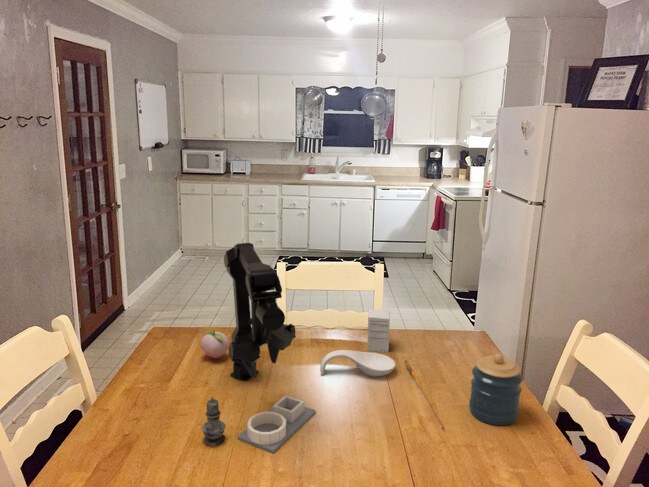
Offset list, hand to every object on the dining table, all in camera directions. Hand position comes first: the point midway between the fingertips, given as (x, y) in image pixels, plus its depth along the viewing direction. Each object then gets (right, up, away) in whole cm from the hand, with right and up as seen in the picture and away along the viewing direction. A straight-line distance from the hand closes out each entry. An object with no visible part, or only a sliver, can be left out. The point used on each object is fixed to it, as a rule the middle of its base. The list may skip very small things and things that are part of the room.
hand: (263, 369), depth 140 cm
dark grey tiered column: (-11, -16, -8) cm, 21 cm away
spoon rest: (+27, -7, +26) cm, 38 cm away
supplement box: (+35, -3, +43) cm, 56 cm away
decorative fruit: (-20, -4, +34) cm, 40 cm away
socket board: (+4, -14, -2) cm, 15 cm away
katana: (+45, -11, +13) cm, 48 cm away
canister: (+63, -13, +4) cm, 64 cm away
